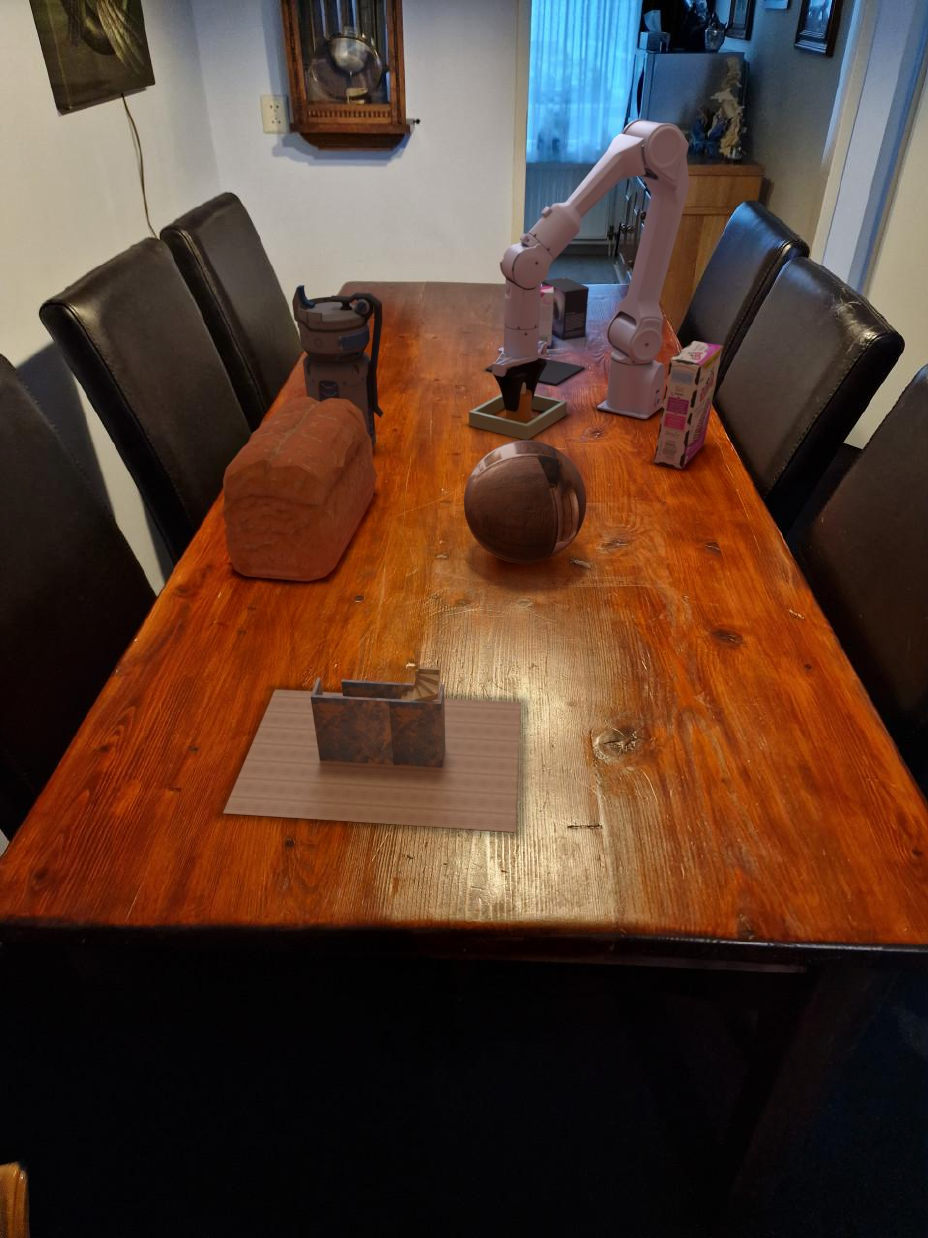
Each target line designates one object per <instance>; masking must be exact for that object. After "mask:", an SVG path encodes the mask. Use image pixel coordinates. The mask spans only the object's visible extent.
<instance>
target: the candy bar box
mask: <svg viewBox="0 0 928 1238" xmlns="http://www.w3.org/2000/svg"><path fill="white" fill-rule="evenodd" d="M723 348H724V345H720V344H717V343H711V342H703V341H696V340H693V341H692V342H691V343H689V344H688V345H687V346H686V347H683V349H682V350H680V351H679V352H678V353H676V354H675V355H674V356H672V357H671V358H670V359H669V366H668V372H667V377H666V382H665V383H666V384H665V389H664V395H663V401H662V404H663V406H662V407H661V408H662V409H661V415H660V421H659V428H658V434H657V439H656V440H657V441H656V447H655V452H654V460H653V463H654V464H656V465H657V464H658V465H661V466H665V467H669V468H673V469H677V470H683V469H684V468H685V467H686V466H687V464H688V463H689V462H690V461H691V459H693V458H694V456H695V455H696V454H697V453H698V452H699V450H701V449H702V448H703V447H704V446H705V441H706V436H707V430H708V425H709V419H710V415H711V409H712V405H713V399H714V394H715V389H716V385H717V379H718V374H719V369H720V364H721V363H720V362H721V359H722V354H723Z"/></svg>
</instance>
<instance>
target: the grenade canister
mask: <svg viewBox="0 0 928 1238" xmlns="http://www.w3.org/2000/svg"><path fill="white" fill-rule="evenodd" d="M305 286H306V285H304V284H301V285H297V286H296V289H295V292H294V294H293V297H292V300H291V301H292V303H291V305H292V313H293V320H294V322H296V323H297V329H298V334H299V341H300V347H301V349H302V350H303V351H304V352H305V353H306V355H305V357H304V358H303V360H302V367H303V374H304V377H303V378H304V384H305V392H306V397H311V398H313V399H315V400H317V401H319V402H322V401H324V400H326V399H329V398H337V399H348V400H349V401H350V402H352V403H353V404H354V405H355V406H356V407H358V408H359V409H360V410H361V411H362V414H363V417H364V420H365V423H366V429H367V433H368V434H369V436H370V438H371V439H372V450H373V449H374V447H375V444H376V443H377V435H376V422H375V415H377V416H378V417H379V418H380V419H382V417H383V415H384V411H383V410H382V409H381V407H380V406H379V396H378V394H379V393H378V392H379V391H378V374H377V372H378V365H379V355H380V353H379V352H380V345H381V337H382V329H383V328H382V327H383V320H384V319H383V318H384V317H383V302H382V301H381V299H379V298H378V297H376V296H375V295H374V294H372V293H371V292H355V293H354V294H352V295H334V294H333V295H330V296H322V297H314V298H310V299H308V297H307V296H306V292H305ZM354 301H356V302H355V304H353V302H354ZM372 316H373V329H372V341H371V349H370V350H371V352H370V355H369V354H368V353H367V352H365V351H366V349H367V347H368V345H369V343H370V340H371V331H370V325H369V323H368V322H369V320H370V319H371V317H372Z"/></svg>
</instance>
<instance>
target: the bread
mask: <svg viewBox="0 0 928 1238" xmlns="http://www.w3.org/2000/svg"><path fill="white" fill-rule="evenodd" d="M377 477H378V474H377V471H376V468H375V467H374V458H373V449H372V439H371V438H370V436H369V434H368V433H367V429H366V423H365V420H364V417H363V414H362V411H361V410H360V409H359V408H358V407H356V406H355V405H354V404H353V403H352V402H350V401H349V400H348V399H337V398H329V399H326V400H324V401H322V402H319V401H317V400H315V399H313V398H311V397H307V396H300V397H295V398H293V399H291V400H289V401H288V402H287V403H285V404H284V405H282V407H280V408H279V410H277V412H275V413H274V414H273V415H272V416H271V417H270V418H269V419H267V420H265V421H264V422H262V423H261V424H260V427H259V428H258V429H256V430H254V432H252V433H251V436H250V437H249V440H248V442H247V443H246V444H245V445H243V446H242V447H241V448H240V450H239V451H238V452H237V454H236V455H235V457H234V458H233V459H232V461H230V463H229V464H228V466H227V467H225V471H224V476H223V479H222V485H223V496H224V498H223V506H222V512H221V514H222V517H223V520H224V523H225V530H224V535H225V542H226V543H225V545H226V551H227V554H228V556H229V559H230V561H231V563H232V566H233V569H234V571H236V572H237V573H238V574H240V575H242V576H244V577H251V578H252V577H253V578H262V579H273V580H283V581H284V580H287V581H296V582H311V581H316V580H320V579H324V578H326V577H327V576H328V575H329V574H330V573H331V572H332V571H334V569H335V568H336V567H337V565H338V563H339V561H340V559H341V558H342V556H343V554H344V552H345V550H346V549H347V547H348V545H349V543H350V542H351V541H352V538H353V536H354V535H355V533H356V531H357V528H358V526H360V525H359V524H360V522H361V521H362V520H363V519H362V518H363V517H364V515H365V513H366V511H367V509H368V507H370V504H371V502H372V501H373V497H374V494H375V488H376V483H377Z"/></svg>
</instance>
